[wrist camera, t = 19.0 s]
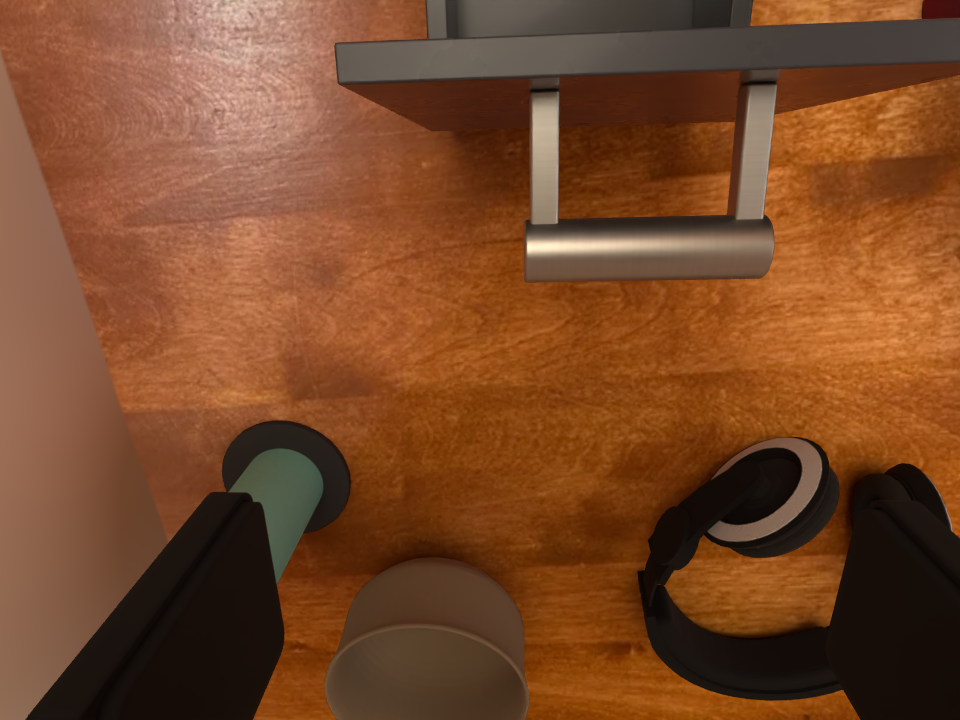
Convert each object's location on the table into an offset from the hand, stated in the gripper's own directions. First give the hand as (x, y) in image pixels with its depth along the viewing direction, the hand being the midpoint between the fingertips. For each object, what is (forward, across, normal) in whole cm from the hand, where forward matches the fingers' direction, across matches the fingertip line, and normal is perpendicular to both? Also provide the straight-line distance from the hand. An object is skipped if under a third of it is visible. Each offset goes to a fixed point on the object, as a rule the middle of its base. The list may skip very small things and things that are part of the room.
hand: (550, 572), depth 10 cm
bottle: (+28, +16, +16) cm, 37 cm away
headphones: (+29, -18, +22) cm, 40 cm away
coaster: (+29, +16, +16) cm, 37 cm away
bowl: (+29, +6, +26) cm, 39 cm away
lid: (+14, -3, -8) cm, 16 cm away
